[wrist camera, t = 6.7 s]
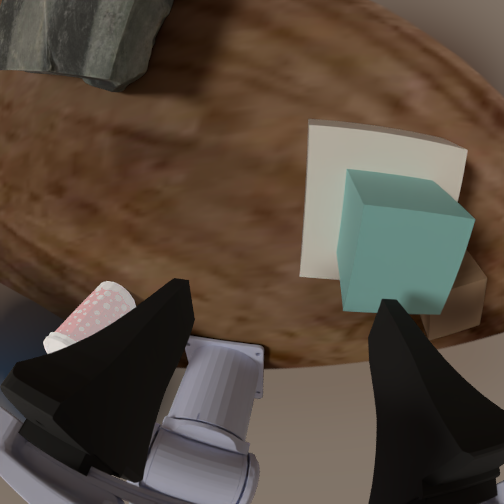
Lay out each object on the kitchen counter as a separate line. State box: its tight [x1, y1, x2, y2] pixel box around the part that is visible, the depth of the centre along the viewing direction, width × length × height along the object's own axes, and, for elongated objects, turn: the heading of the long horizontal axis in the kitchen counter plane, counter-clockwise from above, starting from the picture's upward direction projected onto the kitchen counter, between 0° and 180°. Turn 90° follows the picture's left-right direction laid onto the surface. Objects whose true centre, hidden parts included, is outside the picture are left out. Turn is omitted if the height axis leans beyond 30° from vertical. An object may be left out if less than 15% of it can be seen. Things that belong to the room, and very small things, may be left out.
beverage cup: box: [43, 281, 136, 354], centre depth 22 cm, size 6×6×14 cm
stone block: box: [0, 0, 174, 92], centre depth 12 cm, size 9×14×5 cm, turn 71°
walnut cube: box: [420, 249, 487, 340], centre depth 18 cm, size 4×4×4 cm
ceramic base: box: [300, 119, 467, 280], centre depth 16 cm, size 9×9×4 cm
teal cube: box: [336, 169, 475, 315], centre depth 13 cm, size 5×5×5 cm
